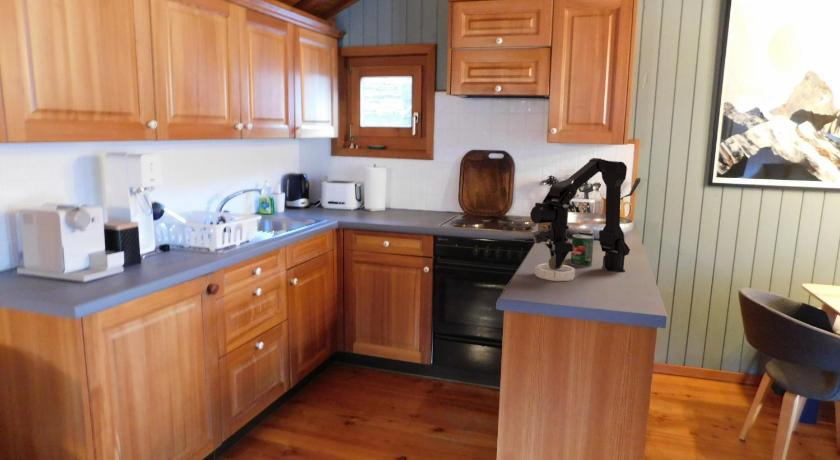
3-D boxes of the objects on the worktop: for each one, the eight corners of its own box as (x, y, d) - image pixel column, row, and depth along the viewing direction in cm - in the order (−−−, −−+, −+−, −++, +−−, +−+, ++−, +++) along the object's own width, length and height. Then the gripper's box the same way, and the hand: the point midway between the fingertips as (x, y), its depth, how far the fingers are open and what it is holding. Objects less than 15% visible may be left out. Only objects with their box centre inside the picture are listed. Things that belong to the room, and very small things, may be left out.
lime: (562, 271, 196) (563, 257, 195) (547, 270, 197) (548, 256, 196) (562, 268, 200) (563, 254, 199) (548, 267, 201) (549, 253, 201)
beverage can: (579, 257, 233) (582, 227, 231) (593, 259, 229) (595, 229, 227) (573, 259, 229) (576, 229, 227) (587, 261, 225) (590, 231, 223)
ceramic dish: (568, 272, 205) (568, 264, 205) (578, 281, 193) (579, 272, 192) (532, 271, 205) (532, 263, 205) (540, 280, 192) (540, 271, 192)
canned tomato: (594, 264, 220) (596, 236, 219) (588, 268, 214) (591, 238, 212) (573, 261, 224) (575, 233, 222) (567, 265, 218) (569, 236, 216)
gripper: (529, 217, 205) (526, 260, 207) (541, 225, 186) (538, 272, 189) (560, 218, 205) (557, 260, 208) (575, 226, 187) (571, 273, 189)
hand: (555, 266), depth 198 cm, fingers closed on lime, 5 cm apart
